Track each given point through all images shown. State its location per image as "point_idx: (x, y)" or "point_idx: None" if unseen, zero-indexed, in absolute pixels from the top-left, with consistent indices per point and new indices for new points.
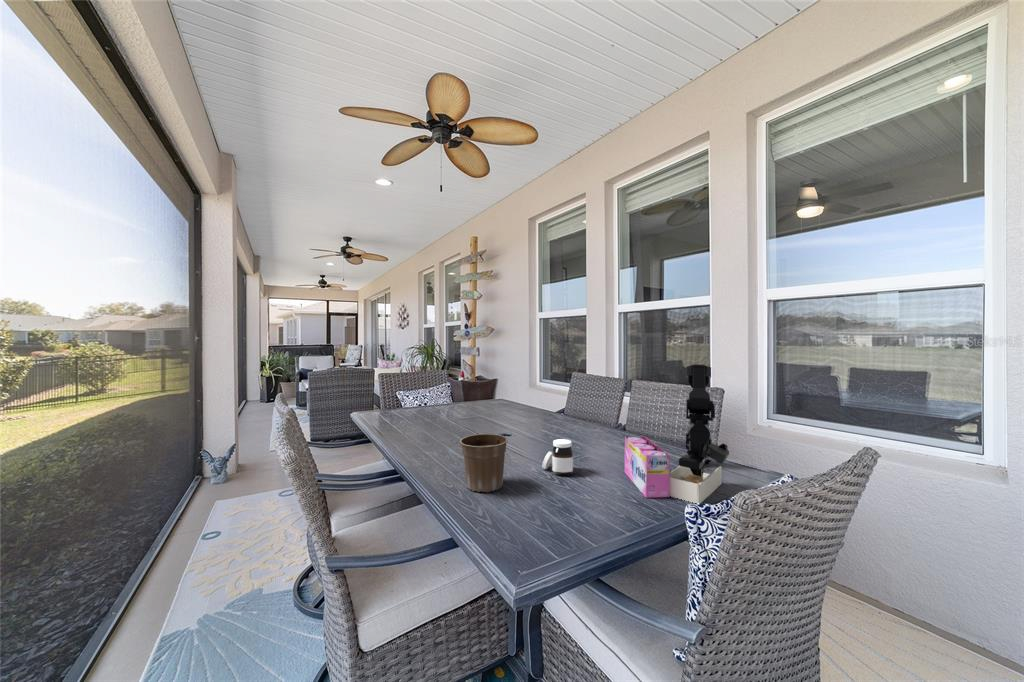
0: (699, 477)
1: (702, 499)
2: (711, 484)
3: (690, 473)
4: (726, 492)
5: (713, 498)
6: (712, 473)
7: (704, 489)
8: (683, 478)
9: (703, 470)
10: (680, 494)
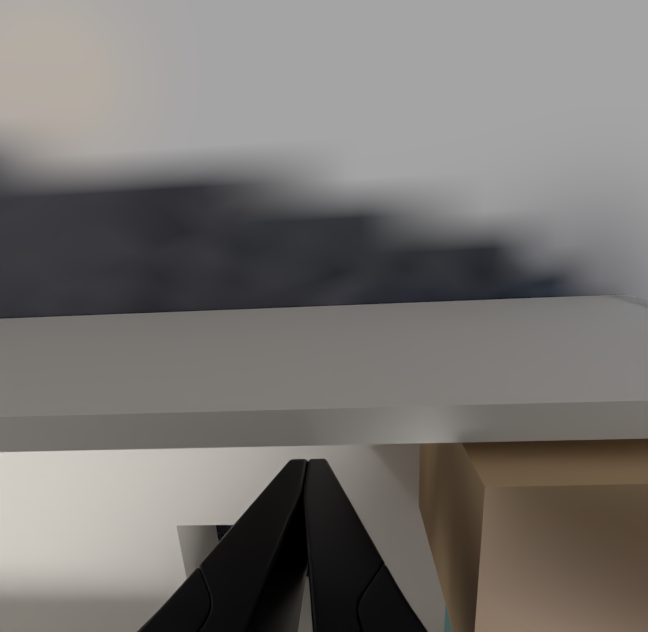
0: (568, 528)
1: (534, 303)
2: (200, 341)
3: (33, 617)
4: (80, 199)
5: (355, 244)
6: (24, 428)
7: (510, 336)
8: None
9: (238, 618)
10: None
